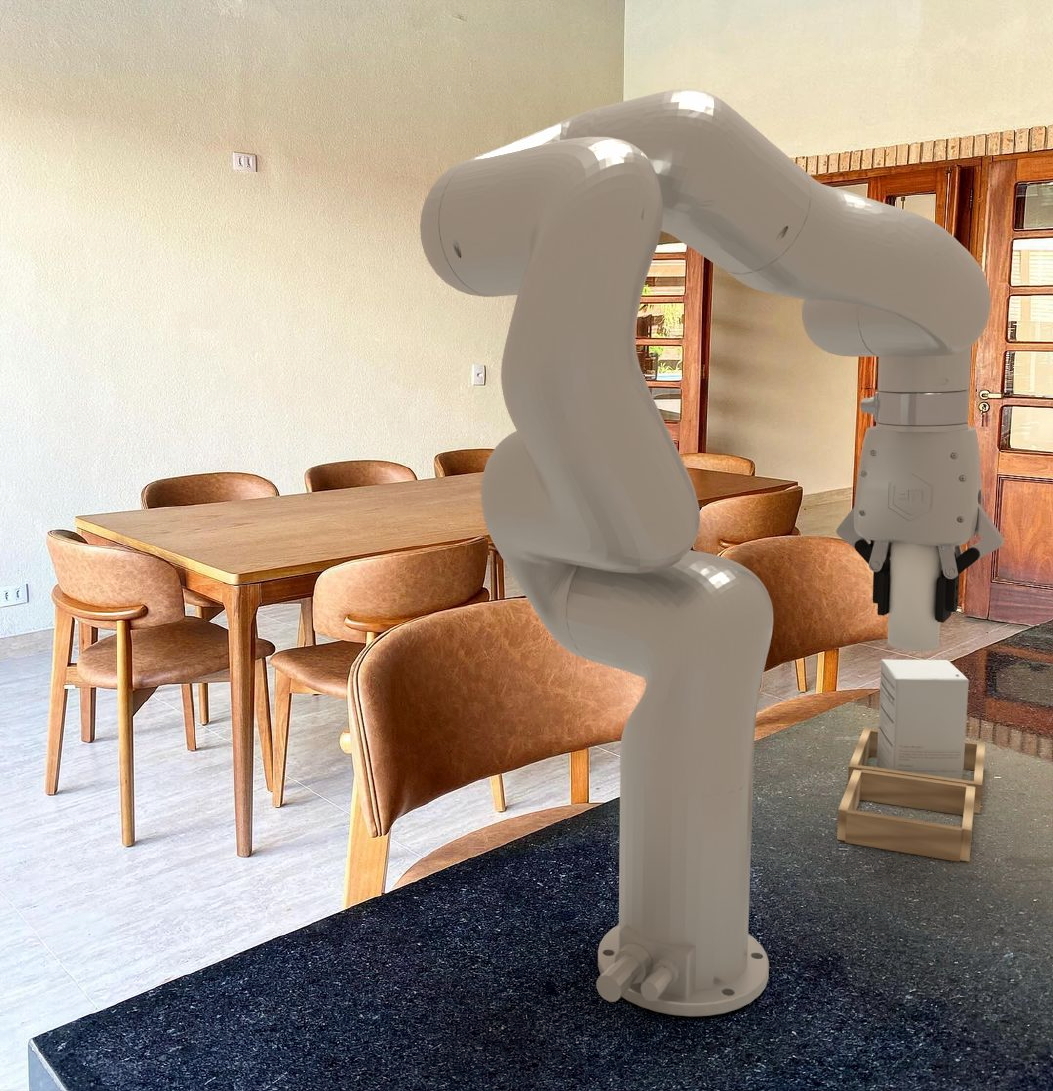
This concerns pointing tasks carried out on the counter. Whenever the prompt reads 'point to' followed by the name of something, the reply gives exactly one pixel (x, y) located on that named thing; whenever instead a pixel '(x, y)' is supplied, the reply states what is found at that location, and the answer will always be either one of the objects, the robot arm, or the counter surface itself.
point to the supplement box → (922, 717)
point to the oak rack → (910, 805)
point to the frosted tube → (913, 597)
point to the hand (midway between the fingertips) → (914, 613)
